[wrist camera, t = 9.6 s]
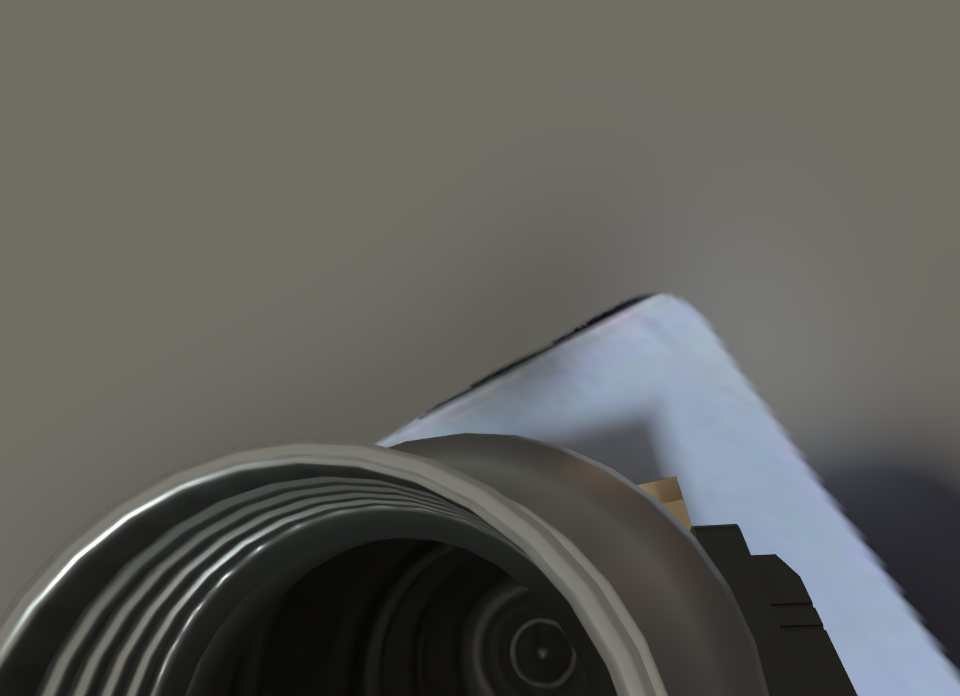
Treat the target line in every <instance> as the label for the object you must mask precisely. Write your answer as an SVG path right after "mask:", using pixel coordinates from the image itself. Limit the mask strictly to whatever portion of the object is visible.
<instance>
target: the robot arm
mask: <svg viewBox="0 0 960 696" xmlns="http://www.w3.org/2000/svg"><path fill="white" fill-rule="evenodd" d="M690 532H691V533H692V534H693V535H694V536H695V537H696V539H697V540H698V542H699V543H700V544H701V546H702V547H703V549H704V550H705V552H706V553H707V554H708V556H709V557H710V559H711V560H712V562H713V563H714V564H715V566H716V567H717V569H718V570H719V572H720V573H721V574H722V576H723V577H724V579H725V580H726V581H727V583H728V584H729V586H730V588H731V590H732V592H733V594H734V597H735V599H736V601H737V603H738V605H739V607H740V610H741V612H742V614H743V616H744V618H745V620H746V623H747V625H748V627H749V629H750V631H751V633H752V636H753V638H754V640H755V643H756V646H757V650H758V654H759V658H760V662H761V666H762V670H763V674H764V678H765V682H766V686H767V689H768V693H769V696H857V694H856V692H855V689H854V687H853V685H852V683H851V681H850V679H849V677H848V675H847V673H846V671H845V669H844V667H843V665H842V663H841V660H840V658H839V656H838V654H837V652H836V650H835V648H834V646H833V644H832V642H831V640H830V638H829V636H828V634H827V631H826V630H824V628H823V623H822V621H821V619H820V617H819V615H818V613H817V611H816V609H815V608H813V603H812V600H811V598H810V596H809V594H808V592H807V590H806V588H805V586H804V584H803V582H802V580H801V578H800V576H799V575H798V574H797V573H796V572H795V571H793V570H792V569H791V568H790V567H789V566H788V565H787V564H786V563H785V562H783V561H782V560H781V559H780V558H779V557H778V556H777V555H776V554H772V555H751V554H750V552H749V549H748V547H747V544H746V542H745V540H744V537H743V535H742V532H741V530H740V528H739V526H738V525H737V524H726V525H706V526H692V527H691V529H690Z"/></svg>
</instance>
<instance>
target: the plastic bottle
mask: <svg viewBox="0 0 960 696" xmlns="http://www.w3.org/2000/svg"><path fill="white" fill-rule="evenodd" d="M0 696H769V693H768V689H767V686H766V682H765V678H764V674H763V670H762V666H761V662H760V658H759V654H758V650H757V646H756V643H755V640H754V638H753V636H752V633H751V631H750V629H749V627H748V625H747V623H746V620H745V618H744V616H743V614H742V612H741V610H740V607H739V605H738V603H737V601H736V599H735V597H734V594H733V592H732V590H731V588H730V586H729V584H728V583H727V581H726V580H725V579H724V577H723V576H722V574H721V573H720V572H719V570H718V569H717V567H716V566H715V564H714V563H713V562H712V560H711V559H710V557H709V556H708V554H707V553H706V552H705V550H704V549H703V547H702V546H701V544H700V543H699V542H698V540H697V539H696V537H695V536H694V535H693V534H692V533H691V532H690V531H689V530H687V529H686V528H685V527H684V526H683V525H682V524H681V523H680V522H679V521H678V520H677V519H676V518H675V517H674V516H673V515H672V514H671V513H670V512H669V511H668V510H667V509H666V508H665V507H664V506H663V505H662V504H661V503H660V502H659V501H658V500H657V499H656V498H655V497H653V496H652V495H650V494H649V493H648V492H646V491H645V490H643V489H642V488H640V487H639V486H637V485H636V484H634V483H633V482H631V481H630V480H628V479H627V478H626V477H624V476H623V475H621V474H620V473H618V472H617V471H615V470H614V469H612V468H611V467H608V466H606V465H604V464H602V463H599V462H597V461H595V460H593V459H590V458H588V457H586V456H584V455H581V454H579V453H577V452H575V451H572V450H570V449H568V448H566V447H563V446H558V445H554V444H550V443H546V442H541V441H537V440H533V439H529V438H525V437H520V436H516V435H498V434H476V433H463V434H455V435H448V436H441V437H434V438H427V439H420V440H412V441H406V442H403V443H400V444H397V445H394V446H391V447H388V448H386V447H382V446H378V445H373V444H367V443H362V442H350V441H331V440H311V439H293V440H286V441H280V442H273V443H265V444H259V445H251V446H245V447H237V448H234V449H231V450H228V451H225V452H222V453H219V454H216V455H213V456H210V457H207V458H204V459H201V460H199V461H195V462H192V463H190V464H187V465H183V466H181V467H178V468H175V469H173V470H171V471H170V472H168V473H166V474H164V475H162V476H160V477H159V478H157V479H155V480H153V481H152V482H150V483H148V484H146V485H144V486H143V487H140V488H139V489H137V490H135V491H133V492H131V493H130V494H128V495H126V496H124V497H122V498H120V499H119V500H117V501H116V502H115V503H113V504H112V505H111V506H110V507H108V508H107V509H106V510H105V511H103V512H102V513H101V514H100V515H98V516H97V517H96V518H94V519H93V520H92V521H91V522H90V523H88V524H87V525H86V526H84V527H83V528H82V529H81V530H79V531H78V532H77V533H76V534H74V535H73V536H72V537H71V538H69V539H68V540H67V541H66V542H64V544H63V545H62V546H61V547H60V548H59V549H58V550H57V551H56V552H55V553H54V554H53V555H52V556H51V558H50V559H49V560H48V561H47V562H46V563H45V564H44V565H43V566H42V567H41V568H40V570H39V571H38V572H37V573H36V574H35V575H34V576H33V577H32V578H31V579H30V580H29V581H28V582H27V584H26V585H25V586H24V587H23V588H22V589H21V590H20V591H19V592H18V593H17V595H16V596H15V598H14V599H13V600H12V602H11V603H10V605H9V606H8V608H7V609H6V611H5V612H4V614H3V615H2V617H1V618H0Z"/></svg>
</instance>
